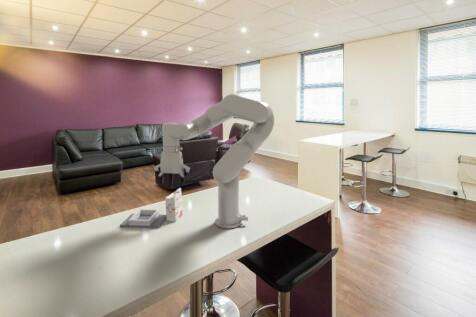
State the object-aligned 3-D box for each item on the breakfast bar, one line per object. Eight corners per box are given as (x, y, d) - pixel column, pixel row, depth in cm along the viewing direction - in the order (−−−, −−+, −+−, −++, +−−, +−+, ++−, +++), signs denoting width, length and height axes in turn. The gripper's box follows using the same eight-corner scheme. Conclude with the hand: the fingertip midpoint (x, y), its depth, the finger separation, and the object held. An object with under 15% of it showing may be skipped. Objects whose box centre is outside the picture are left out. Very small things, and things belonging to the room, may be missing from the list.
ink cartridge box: (173, 214, 139) (172, 186, 136) (182, 215, 138) (181, 187, 135) (166, 221, 131) (164, 191, 128) (175, 222, 130) (174, 192, 127)
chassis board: (167, 216, 136) (167, 209, 136) (158, 228, 124) (158, 220, 123) (132, 215, 137) (131, 209, 136) (119, 227, 124) (119, 219, 124)
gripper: (191, 148, 131) (191, 182, 135) (155, 147, 132) (157, 181, 135) (187, 151, 124) (188, 187, 127) (150, 150, 125) (151, 185, 128)
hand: (172, 184), depth 131 cm, fingers open, 9 cm apart
